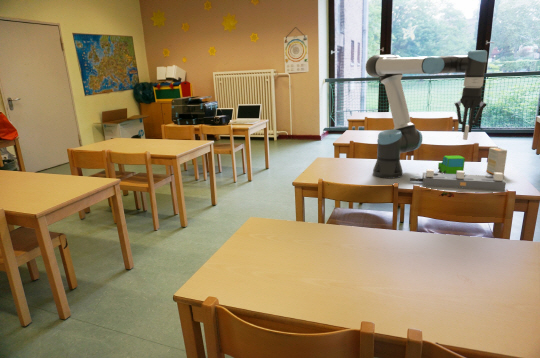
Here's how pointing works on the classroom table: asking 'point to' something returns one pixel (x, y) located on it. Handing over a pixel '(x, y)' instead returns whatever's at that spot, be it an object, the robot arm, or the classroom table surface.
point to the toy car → (451, 164)
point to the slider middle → (460, 174)
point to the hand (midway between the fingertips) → (464, 139)
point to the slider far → (498, 176)
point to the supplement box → (496, 160)
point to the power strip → (462, 182)
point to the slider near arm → (429, 173)
